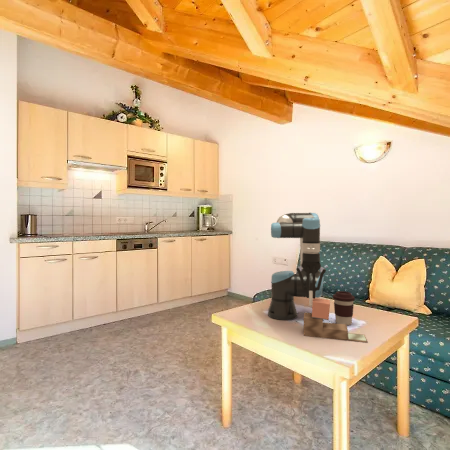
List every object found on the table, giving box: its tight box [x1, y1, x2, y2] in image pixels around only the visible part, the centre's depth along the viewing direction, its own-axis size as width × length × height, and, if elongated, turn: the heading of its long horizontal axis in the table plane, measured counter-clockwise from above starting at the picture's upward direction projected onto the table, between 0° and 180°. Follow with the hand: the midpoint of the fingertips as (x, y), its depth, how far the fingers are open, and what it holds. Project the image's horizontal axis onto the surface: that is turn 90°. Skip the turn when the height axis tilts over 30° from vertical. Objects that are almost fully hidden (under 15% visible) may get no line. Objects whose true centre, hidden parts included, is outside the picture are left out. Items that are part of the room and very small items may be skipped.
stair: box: [303, 312, 368, 344], centre depth 129 cm, size 26×8×8 cm, turn 72°
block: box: [311, 298, 331, 321], centre depth 130 cm, size 7×7×7 cm
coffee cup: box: [332, 290, 356, 326], centre depth 144 cm, size 10×10×15 cm
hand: (310, 305), depth 131 cm, fingers closed
